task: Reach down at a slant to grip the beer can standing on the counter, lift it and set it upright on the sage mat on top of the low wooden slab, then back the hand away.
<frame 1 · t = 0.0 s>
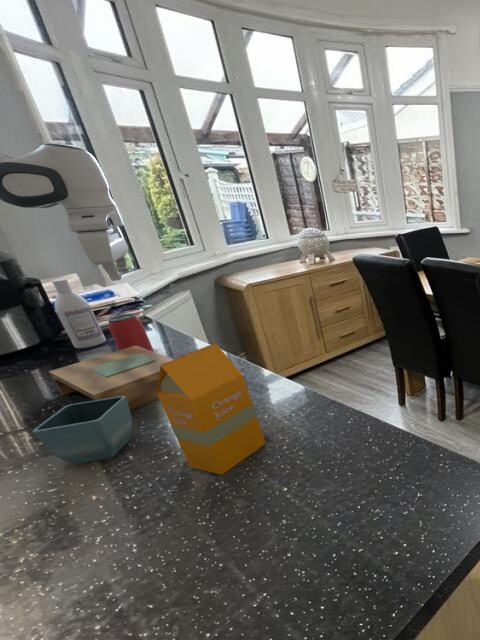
hand: (120, 276, 99), 23 cm above the kitchen counter, tool pointing down, fingers open, 8 cm apart
flower pot: (105, 454, 71), on the kitchen counter
beer can: (140, 358, 110), on the kitchen counter
wooden slab: (128, 389, 93), on the kitchen counter
orange juice: (229, 455, 70), on the kitchen counter
bath foam: (91, 345, 119), on the kitchen counter
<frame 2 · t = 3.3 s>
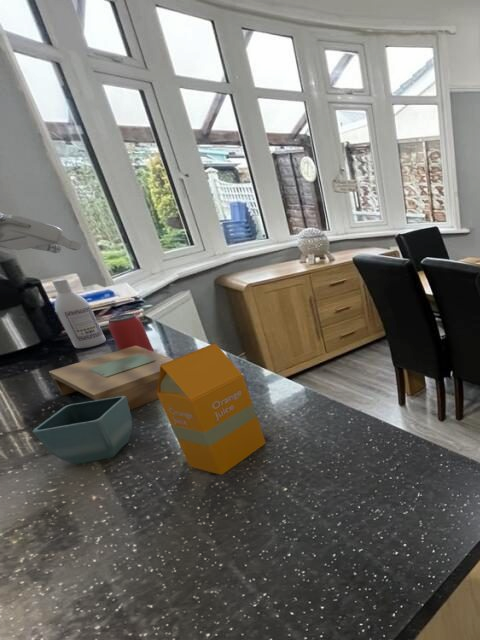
hand: (69, 248, 95), 31 cm above the kitchen counter, tool tilted 55°, fingers open, 8 cm apart
nothing on the kitchen counter moved.
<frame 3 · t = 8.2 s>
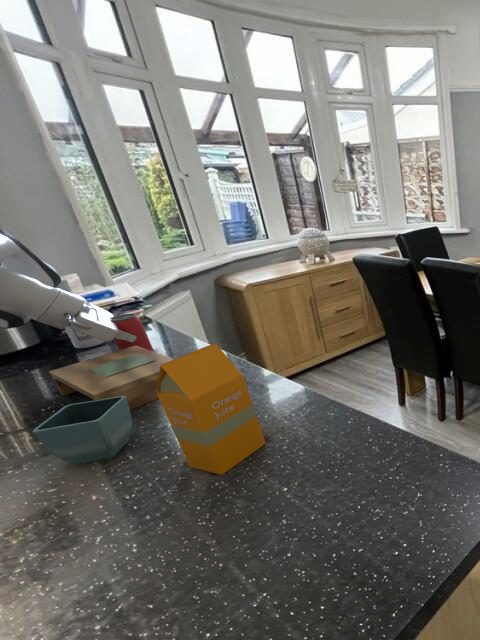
hand: (133, 335, 107), 6 cm above the kitchen counter, tool tilted 45°, fingers closed on beer can, 6 cm apart
beer can: (140, 358, 110), on the kitchen counter, touching gripper
everything else where it was.
when the fingers open (13 cm above the kitchen counter, at t = 16.1 s): beer can stays where it is, resting on wooden slab.
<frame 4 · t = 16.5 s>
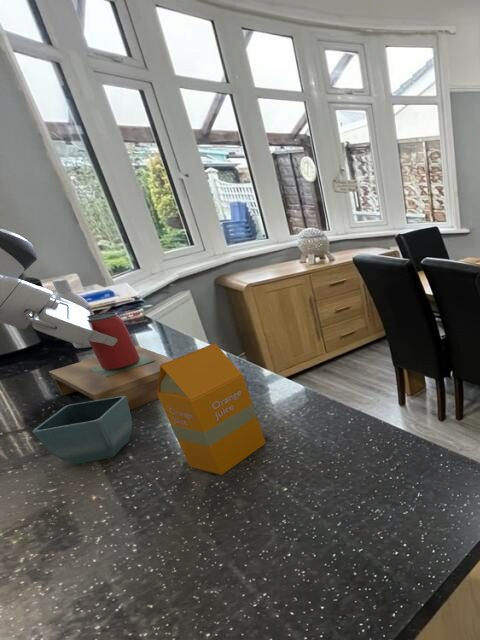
hand: (114, 336, 89), 13 cm above the kitchen counter, tool tilted 45°, fingers open, 8 cm apart
beer can: (122, 365, 91), point 6 cm above the kitchen counter, touching wooden slab
everything else where it was.
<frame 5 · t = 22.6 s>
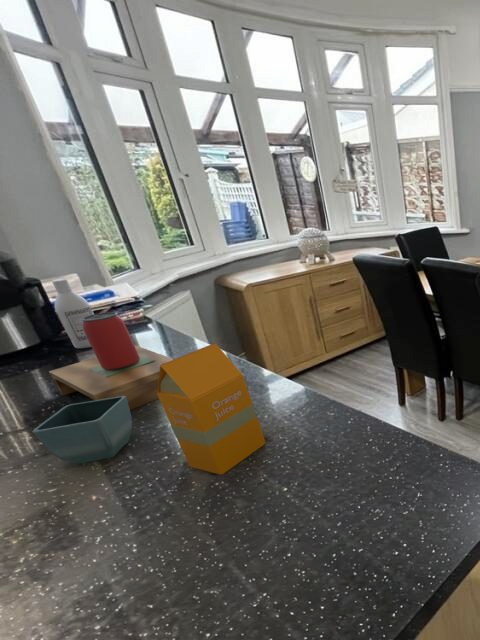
nothing on the kitchen counter moved.
at the end: beer can inside the target area (0.2 cm from its centre), point 6.0 cm above the kitchen counter; beer can tilted 0°; the gripper is holding nothing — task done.
